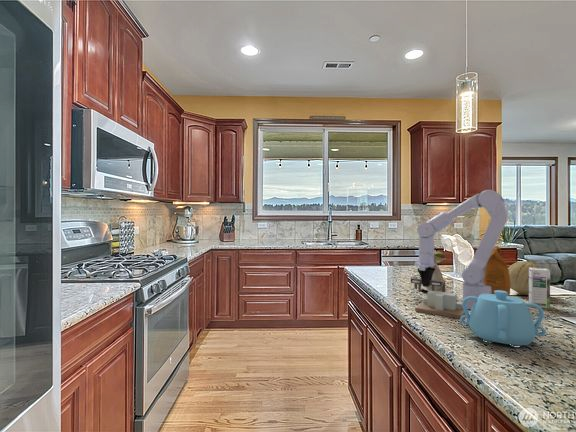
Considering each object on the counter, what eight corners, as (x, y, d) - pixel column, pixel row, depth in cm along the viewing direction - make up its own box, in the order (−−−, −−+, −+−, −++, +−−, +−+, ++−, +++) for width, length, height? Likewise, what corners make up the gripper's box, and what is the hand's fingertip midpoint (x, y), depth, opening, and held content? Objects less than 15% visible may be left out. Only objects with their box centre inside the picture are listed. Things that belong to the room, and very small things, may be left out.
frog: (441, 296, 139) (441, 253, 139) (414, 290, 150) (414, 250, 150) (456, 293, 146) (456, 252, 146) (429, 287, 156) (430, 249, 156)
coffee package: (510, 299, 135) (510, 246, 135) (510, 306, 125) (511, 248, 125) (482, 295, 141) (482, 244, 141) (480, 302, 130) (480, 247, 130)
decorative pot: (504, 328, 101) (504, 284, 101) (553, 349, 85) (553, 297, 85) (455, 330, 99) (455, 285, 99) (496, 352, 83) (496, 299, 83)
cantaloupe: (498, 292, 147) (498, 259, 147) (518, 289, 153) (518, 257, 153) (534, 300, 133) (534, 263, 133) (554, 297, 140) (555, 261, 140)
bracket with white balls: (441, 295, 128) (441, 282, 128) (409, 291, 135) (410, 278, 135) (445, 292, 134) (445, 279, 135) (415, 288, 142) (415, 276, 142)
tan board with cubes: (461, 318, 109) (462, 300, 109) (415, 310, 118) (415, 293, 118) (466, 310, 119) (467, 293, 119) (423, 303, 128) (423, 287, 128)
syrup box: (531, 306, 124) (531, 268, 124) (528, 303, 129) (528, 266, 129) (550, 309, 122) (550, 270, 121) (546, 305, 127) (546, 267, 127)
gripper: (420, 250, 141) (420, 281, 141) (411, 253, 130) (411, 287, 130) (438, 251, 137) (438, 283, 137) (430, 254, 126) (430, 290, 126)
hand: (426, 285), depth 133 cm, fingers closed on bracket with white balls, 2 cm apart
